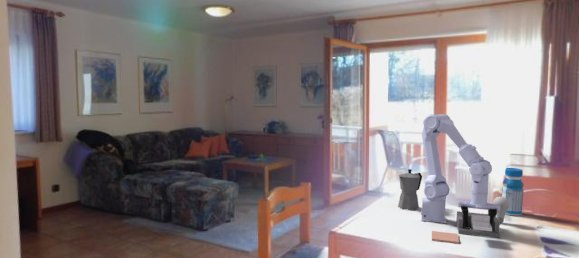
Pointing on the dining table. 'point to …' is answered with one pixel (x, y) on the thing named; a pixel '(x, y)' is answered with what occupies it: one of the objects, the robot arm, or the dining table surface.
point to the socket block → (461, 230)
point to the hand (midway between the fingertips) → (477, 227)
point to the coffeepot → (409, 190)
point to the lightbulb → (501, 207)
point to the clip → (481, 222)
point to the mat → (445, 237)
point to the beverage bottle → (513, 190)
